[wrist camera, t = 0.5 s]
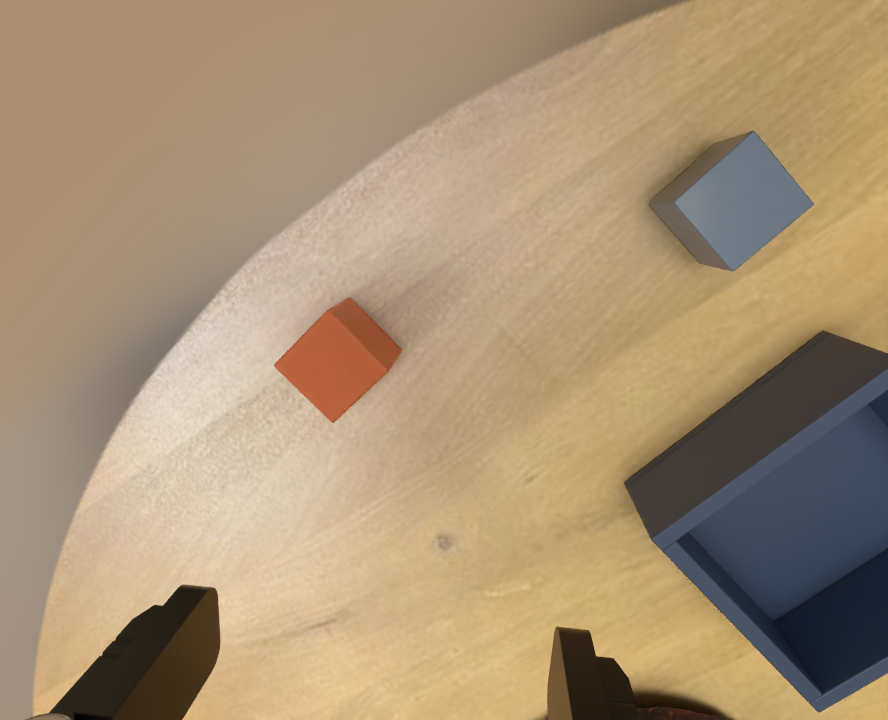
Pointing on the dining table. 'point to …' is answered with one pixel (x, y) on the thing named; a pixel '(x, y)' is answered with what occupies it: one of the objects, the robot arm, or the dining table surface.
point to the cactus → (673, 714)
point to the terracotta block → (339, 359)
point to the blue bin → (789, 515)
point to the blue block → (731, 202)
